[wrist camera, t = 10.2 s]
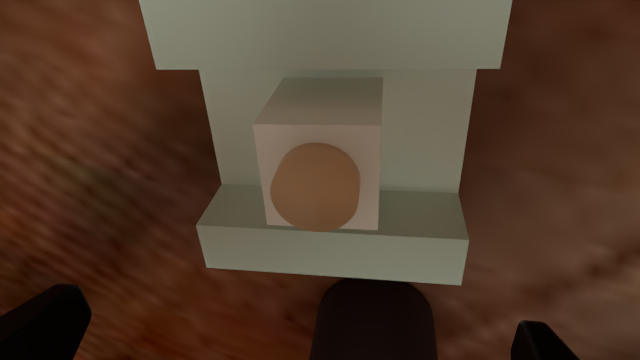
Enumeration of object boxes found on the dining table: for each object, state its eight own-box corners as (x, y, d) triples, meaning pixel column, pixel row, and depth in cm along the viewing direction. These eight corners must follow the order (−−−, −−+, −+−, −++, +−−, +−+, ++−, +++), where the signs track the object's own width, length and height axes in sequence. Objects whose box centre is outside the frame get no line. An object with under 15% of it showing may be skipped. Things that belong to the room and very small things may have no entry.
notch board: (489, -62, 15) (521, -54, 11) (447, 232, 21) (458, 298, 18) (188, -49, 16) (129, -37, 13) (238, 221, 23) (209, 280, 19)
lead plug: (383, 77, 17) (380, 141, 12) (380, 166, 19) (376, 249, 14) (283, 77, 17) (243, 138, 12) (291, 163, 19) (260, 242, 15)
